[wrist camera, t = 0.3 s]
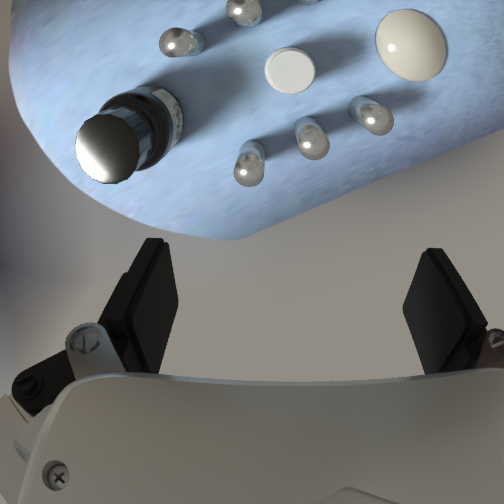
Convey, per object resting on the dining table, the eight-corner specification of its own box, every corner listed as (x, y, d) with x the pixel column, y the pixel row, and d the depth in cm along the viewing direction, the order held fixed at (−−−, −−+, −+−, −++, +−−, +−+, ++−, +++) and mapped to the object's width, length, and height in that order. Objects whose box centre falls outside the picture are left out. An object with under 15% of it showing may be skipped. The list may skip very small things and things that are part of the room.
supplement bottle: (316, 62, 30) (329, 64, 23) (295, 95, 33) (302, 107, 26) (278, 41, 29) (280, 36, 22) (257, 75, 32) (254, 81, 25)
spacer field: (313, -22, 24) (322, -38, 18) (376, 115, 33) (397, 130, 27) (174, 40, 29) (153, 38, 24) (246, 167, 38) (242, 191, 32)
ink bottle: (182, 160, 38) (150, 204, 28) (117, 153, 38) (70, 193, 28) (189, 83, 32) (154, 98, 23) (119, 80, 32) (65, 97, 22)
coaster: (426, 4, 24) (429, 3, 23) (451, 71, 28) (454, 72, 28) (362, 19, 27) (364, 18, 26) (391, 89, 31) (394, 90, 30)
